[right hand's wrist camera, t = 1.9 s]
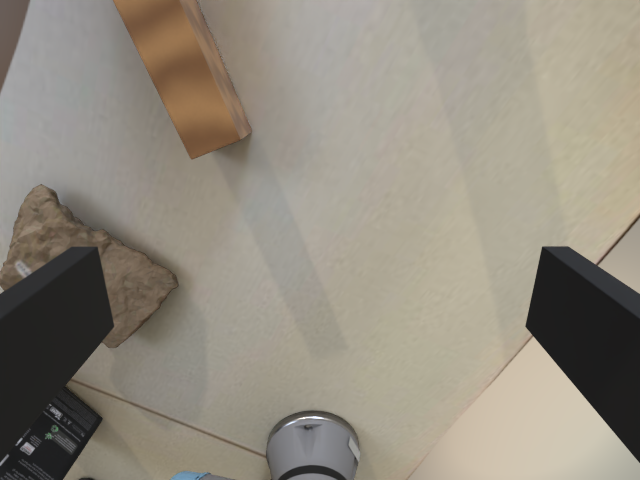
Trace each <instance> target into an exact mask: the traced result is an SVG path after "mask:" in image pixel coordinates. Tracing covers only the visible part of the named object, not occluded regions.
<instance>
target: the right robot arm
mask: <svg viewBox="0 0 640 480" xmlns="http://www.w3.org/2000/svg"><path fill="white" fill-rule="evenodd" d="M525 327H526V328H527V329H528V330H529V331H530V333H531V334H532V335H533V336H534V337H535V338H536V340H537V341H538V342H539V343H540V345H541V346H542V347H543V348H544V349H545V350H546V352H547V353H548V354H549V355H550V356H551V358H552V359H553V360H554V361H555V362H556V364H557V365H558V366H559V367H560V368H561V370H562V371H563V372H564V373H565V374H566V376H567V377H568V378H569V379H570V380H571V381H572V383H573V384H574V385H575V386H576V387H577V389H578V390H579V391H580V392H581V393H582V395H583V396H584V397H585V398H586V399H587V401H588V402H589V403H590V404H591V405H592V407H593V408H594V409H595V410H596V411H597V413H598V414H599V415H600V416H601V417H602V418H603V420H604V421H605V422H606V423H607V424H608V426H609V427H610V428H611V429H612V430H613V431H614V433H615V434H616V435H617V436H618V438H619V439H620V440H621V441H622V442H623V443H624V445H625V446H626V447H627V448H628V449H629V451H630V452H631V453H632V454H633V455H634V457H635V458H636V459H637V460H638V461H639V463H640V294H639V293H637V292H636V291H634V290H633V289H631V288H630V287H628V286H627V285H625V284H624V283H622V282H621V281H619V280H618V279H616V278H615V277H613V276H612V275H610V274H609V273H607V272H606V271H604V270H603V269H601V268H600V267H598V266H597V265H595V264H594V263H592V262H591V261H589V260H588V259H586V258H585V257H583V256H582V255H580V254H579V253H577V252H576V251H574V250H573V249H571V248H570V247H542V250H541V255H540V260H539V265H538V269H537V274H536V279H535V284H534V288H533V293H532V298H531V303H530V307H529V312H528V317H527V322H526V326H525ZM113 328H114V322H113V317H112V312H111V308H110V303H109V298H108V293H107V289H106V284H105V279H104V274H103V270H102V265H101V260H100V255H99V251H98V247H70V248H69V249H67V250H66V251H64V252H63V253H61V254H60V255H58V256H57V257H55V258H54V259H52V260H51V261H49V262H48V263H46V264H45V265H43V266H42V267H40V268H39V269H37V270H36V271H34V272H33V273H31V274H30V275H28V276H27V277H25V278H24V279H22V280H21V281H19V282H18V283H16V284H15V285H13V286H12V287H10V288H9V289H7V290H6V291H4V292H3V293H1V294H0V463H1V461H2V460H3V459H4V458H5V457H6V455H7V454H8V453H9V452H10V451H11V449H12V448H13V447H14V446H15V445H16V444H17V442H18V441H19V440H20V439H21V438H22V436H23V435H24V434H25V433H26V432H27V430H28V429H29V428H30V427H31V426H32V424H33V423H34V422H35V421H36V420H37V418H38V417H39V416H40V415H41V414H42V413H43V411H44V410H45V409H46V408H47V407H48V405H49V404H50V403H51V402H52V401H53V399H54V398H55V397H56V396H57V395H58V393H59V392H60V391H61V390H62V389H63V387H64V386H65V385H66V384H67V383H68V381H69V380H70V379H71V378H72V377H73V376H74V374H75V373H76V372H77V371H78V370H79V368H80V367H81V366H82V365H83V364H84V362H85V361H86V360H87V359H88V358H89V356H90V355H91V354H92V353H93V352H94V350H95V349H96V348H97V347H98V346H99V345H100V343H101V342H102V341H103V340H104V339H105V337H106V336H107V335H108V334H109V333H110V331H111V330H112V329H113ZM360 454H361V453H360V450H359V442H358V437H357V435H356V433H355V431H354V429H353V428H352V427H351V426H350V425H349V424H348V423H347V422H346V421H345V420H343V419H342V418H340V417H338V416H336V415H333V414H331V413H327V412H322V411H304V412H299V413H295V414H293V415H290V416H288V417H286V418H284V419H283V420H281V421H280V422H279V423H278V424H277V425H276V426H275V427H274V428H273V430H272V431H271V433H270V435H269V438H268V443H267V450H266V457H267V462H268V466H269V468H270V472H271V477H272V479H271V480H354V477H355V473H356V470H357V466H358V462H359V459H360ZM170 480H234V479H230V478H225V477H220V476H216V475H212V474H211V473H208V472H207V473H206V472H205V473H196V472H190V471H184V472H180V473H177V474H176V475H174V476H173V477H172V478H171V479H170Z"/></svg>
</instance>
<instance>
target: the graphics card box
mask: <svg viewBox="0 0 640 480" xmlns="http://www.w3.org/2000/svg"><path fill="white" fill-rule="evenodd" d="M102 419H103V418H102V417H100V416H99V415H98V414H97V413H96V412H95V411H93V410H92V409H91V408H90V407H89V406H87V405H86V404H85V403H84V402H83V401H81V400H80V399H79V398H78V397H77V396H75V395H74V394H73V393H72V392H71V391H69V390H68V389H67V388H66V387H65V386H64V387H63V389H62V390H61V391H60V392H59V393H58V395H57V396H56V397H55V398H54V399H53V401H52V402H51V403H50V404H49V405H48V407H47V408H46V409H45V410H44V411H43V413H42V414H41V415H40V416H39V417H38V418H37V420H36V421H35V422H34V423H33V424H32V426H31V427H30V428H29V429H28V430H27V432H26V433H25V434H24V435H23V436H22V438H21V439H20V440H19V441H18V442H17V444H16V445H15V446H14V447H13V448H12V449H11V451H10V452H9V453H8V454H7V455H6V457H5V458H4V459H3V460H2V461H1V463H0V480H63V479H64V477H65V476H66V474H67V473H68V471H69V470H70V468H71V467H72V465H73V464H74V462H75V461H76V459H77V458H78V456H79V455H80V453H81V452H82V450H83V449H84V447H85V446H86V444H87V443H88V441H89V439H90V438H91V436H92V435H93V433H94V432H95V431H96V429H97V427H98V426H99V424H100V423H101V421H102Z"/></svg>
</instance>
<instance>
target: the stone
mask: <svg viewBox="0 0 640 480" xmlns="http://www.w3.org/2000/svg"><path fill="white" fill-rule="evenodd" d="M13 229H14V231H13V237H12V241H11V244H10V250H9V252H8V257H7V261H5V262H4V263H3V267H2V269H1V271H0V286H1V287H2V288H3V290H4V291H6V290H7V289H9V288H10V287H12V286H13V285H15V284H16V283H18V282H19V281H21V280H22V279H24V278H25V277H27V276H28V275H30V274H31V273H33V272H34V271H36V270H37V269H39V268H40V267H42V266H43V265H45V264H46V263H48V262H49V261H51V260H52V259H54V258H55V257H57V256H58V255H60V254H61V253H63V252H64V251H66V250H67V249H69V248H70V247H98V251H99V255H100V260H101V265H102V270H103V274H104V279H105V284H106V289H107V293H108V298H109V303H110V308H111V312H112V317H113V322H114V328H113V329H112V330H111V331H110V333H109V334H108V335H107V336H106V337H105V339H104V340H103V341H102V342H103V343H104V344H105V345H106V346H107V347H108V348H115V347H118V346H119V345H120V344H121V343H123V342H124V341H125V340H126V339H128V338H129V337H130V336H131V335H132V334H133V333H134V332H136V331H137V330H138V329H139V328H140V327H141V326H142V325H143V324H144V322H145V321H147V320H148V319H149V318H150V316H151V315H152V313H154V312H155V311H156V310H158V309H159V308H160V306H161V303H162V302H163V301H164V300H165V299H166V297H167V295H168V294H169V293H170V291H171V290H172V289H174V288H176V287H178V285H179V284H178V281H177V277H176V275H174V274H172V273H171V272H170V271H169V270H168V269H166V268H164V267H162V266H160V265H158V264H154V263H153V262H152V261H151V260H150V259H149V258H148V257H147V256H146V254H144V253H142V252H139V251H136V250H135V249H130V248H128V247H126V246H125V245H124V244H123V243H122V242H121V241H119V240H117V239H115V238H113V237H112V236H110V234H109V233H108V232H106V231H105V230H102V229H101V230H98V231H93V230H92V229H91V228H90V227H88V226H84V224H83V223H82V222H81V221H80V219H78V218H76V217H74V216H73V214H72V212H71V211H70V210H69V209H68V208H67V207H65V206H63V205H61V204H60V203H59V200H58V197H57V194H56V192H55V191H54V190H52V189H49V188H47V187H46V186H44V185H42V184H41V185H39V186H37V187H35V188H33V189H32V191H31V192H30V193H29V194H28V195H27V197H26V198H25V200H24V203H23V204H22V205H21V208H20V210H19V213H18V218H17V220H16V221H15V225H14V228H13Z"/></svg>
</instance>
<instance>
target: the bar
mask: <svg viewBox="0 0 640 480" xmlns="http://www.w3.org/2000/svg"><path fill="white" fill-rule="evenodd" d="M113 1H114V3H115V5H116V7H117V9H118V11H119V14H120V16H121V18H122V20H123V22H124V24H125V26H126V28H127V30H128V32H129V34H130V36H131V38H132V40H133V42H134V44H135V46H136V48H137V50H138V52H139V54H140V56H141V58H142V60H143V62H144V64H145V66H146V69H147V71H148V73H149V75H150V77H151V79H152V81H153V83H154V85H155V87H156V89H157V91H158V93H159V95H160V97H161V99H162V101H163V103H164V105H165V107H166V109H167V111H168V113H169V115H170V117H171V119H172V122H173V124H174V126H175V128H176V130H177V132H178V134H179V136H180V138H181V140H182V142H183V144H184V146H185V148H186V150H187V152H188V154H189V156H190V158H191V159H194V158H197V157H199V156H202V155H204V154H207V153H209V152H212V151H214V150H217V149H219V148H222V147H224V146H227V145H229V144H232V143H235V142H237V141H240V140H241V139H243V138H244V137H245V136H247V135H248V134H250V133H251V132H252V129H251V127H250V125H249V122H248V120H247V118H246V115H245V113H244V111H243V108H242V106H241V104H240V101H239V99H238V97H237V94H236V92H235V90H234V87H233V85H232V83H231V80H230V78H229V76H228V73H227V71H226V69H225V66H224V64H223V62H222V59H221V57H220V55H219V52H218V50H217V48H216V45H215V43H214V41H213V38H212V36H211V34H210V31H209V29H208V26H207V24H206V22H205V19H204V17H203V15H202V12H201V10H200V8H199V5H198V3H197V1H196V0H113Z"/></svg>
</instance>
